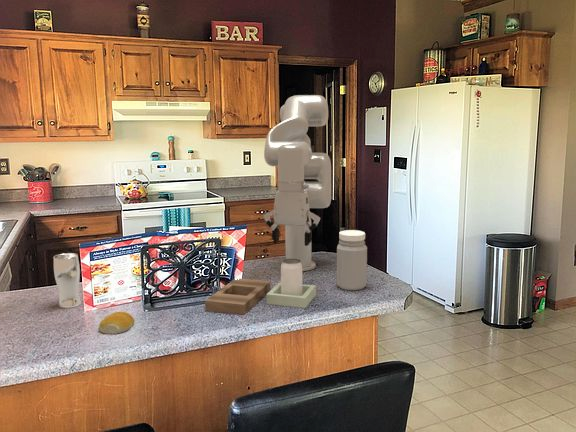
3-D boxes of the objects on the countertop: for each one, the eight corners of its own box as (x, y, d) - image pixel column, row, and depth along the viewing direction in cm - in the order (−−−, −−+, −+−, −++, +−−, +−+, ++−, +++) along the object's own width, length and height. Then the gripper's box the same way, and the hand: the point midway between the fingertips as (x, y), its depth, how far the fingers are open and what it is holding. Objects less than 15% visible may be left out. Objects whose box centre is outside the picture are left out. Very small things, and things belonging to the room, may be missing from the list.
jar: (363, 292, 162) (364, 236, 158) (333, 289, 165) (333, 234, 161) (368, 283, 171) (369, 230, 167) (339, 280, 174) (340, 228, 170)
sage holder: (279, 291, 164) (279, 282, 163) (316, 294, 160) (316, 285, 160) (266, 303, 152) (266, 294, 152) (305, 308, 149) (305, 298, 148)
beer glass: (60, 301, 156) (55, 253, 153) (84, 299, 157) (80, 252, 155) (54, 309, 149) (50, 259, 147) (80, 307, 151) (76, 258, 148)
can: (294, 304, 152) (293, 265, 150) (276, 300, 156) (276, 261, 154) (306, 298, 157) (306, 260, 155) (289, 294, 161) (289, 257, 159)
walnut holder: (235, 287, 168) (235, 278, 168) (270, 290, 165) (270, 281, 164) (205, 310, 148) (204, 300, 147) (244, 314, 144) (243, 304, 143)
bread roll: (138, 322, 140) (137, 308, 140) (125, 335, 132) (124, 320, 131) (108, 321, 141) (107, 307, 140) (94, 334, 132) (92, 319, 132)
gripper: (323, 186, 151) (322, 242, 155) (267, 183, 156) (268, 238, 160) (316, 190, 144) (316, 249, 148) (258, 187, 149) (260, 244, 153)
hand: (291, 243), depth 154 cm, fingers open, 9 cm apart
